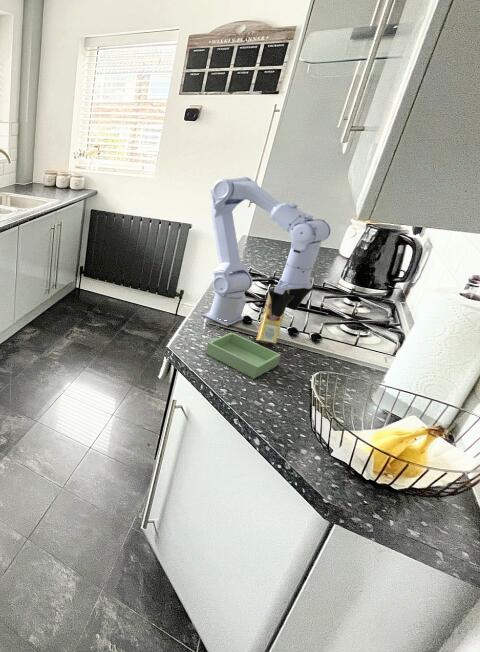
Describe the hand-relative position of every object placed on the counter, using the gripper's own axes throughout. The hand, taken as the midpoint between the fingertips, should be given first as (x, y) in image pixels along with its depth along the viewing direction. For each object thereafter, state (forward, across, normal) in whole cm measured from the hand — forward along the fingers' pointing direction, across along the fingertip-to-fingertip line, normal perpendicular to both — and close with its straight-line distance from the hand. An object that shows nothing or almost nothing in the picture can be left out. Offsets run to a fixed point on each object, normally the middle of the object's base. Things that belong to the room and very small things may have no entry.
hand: (283, 311), depth 116 cm
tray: (+11, -15, +1) cm, 18 cm away
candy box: (+9, -4, +1) cm, 10 cm away
